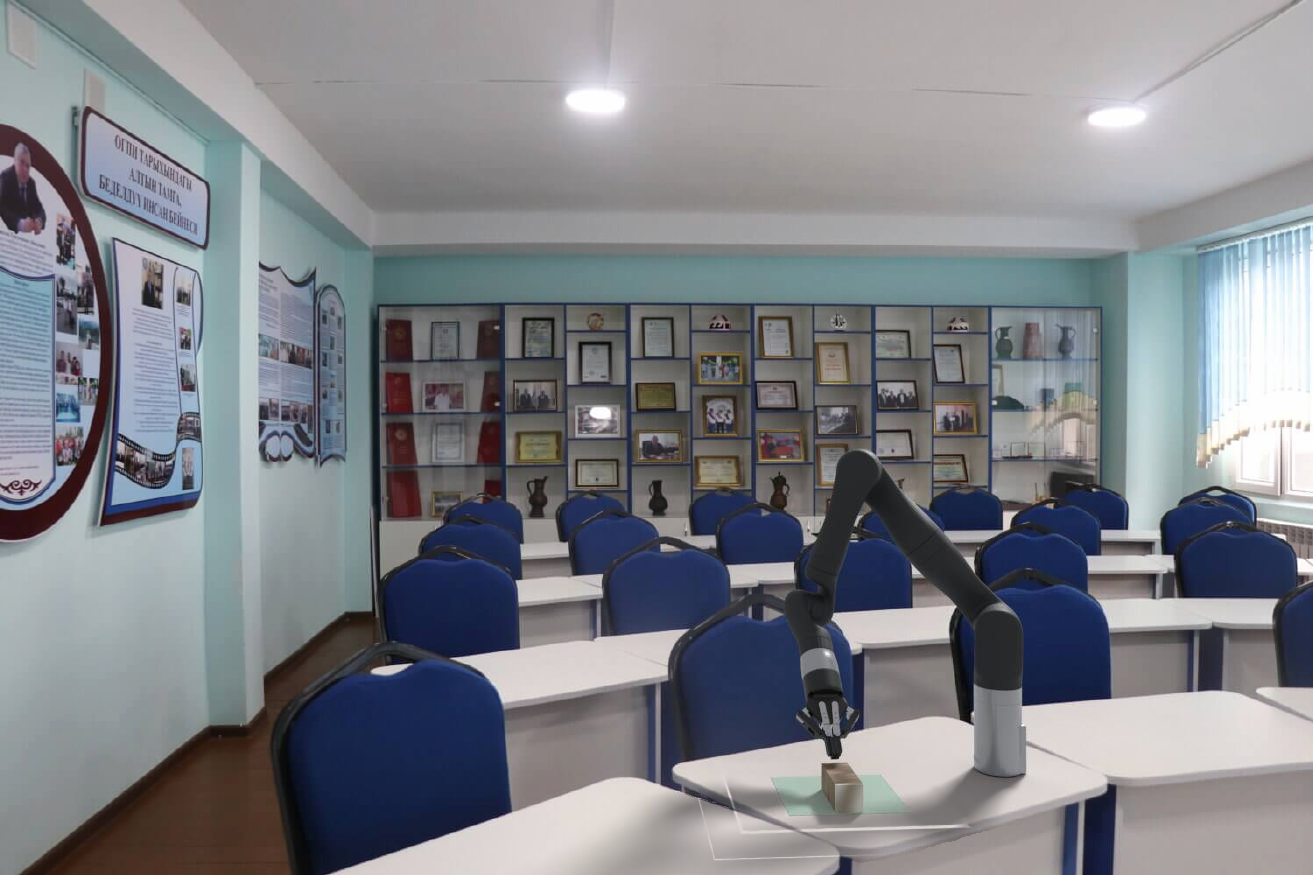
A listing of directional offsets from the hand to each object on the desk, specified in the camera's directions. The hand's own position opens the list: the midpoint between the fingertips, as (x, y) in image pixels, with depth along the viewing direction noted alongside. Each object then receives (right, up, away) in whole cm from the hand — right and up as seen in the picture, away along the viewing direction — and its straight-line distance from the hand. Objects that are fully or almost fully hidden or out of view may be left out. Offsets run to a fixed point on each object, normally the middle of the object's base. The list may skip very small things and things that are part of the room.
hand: (835, 757), depth 183 cm
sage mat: (0, -7, -1) cm, 7 cm away
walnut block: (0, -4, +1) cm, 4 cm away
